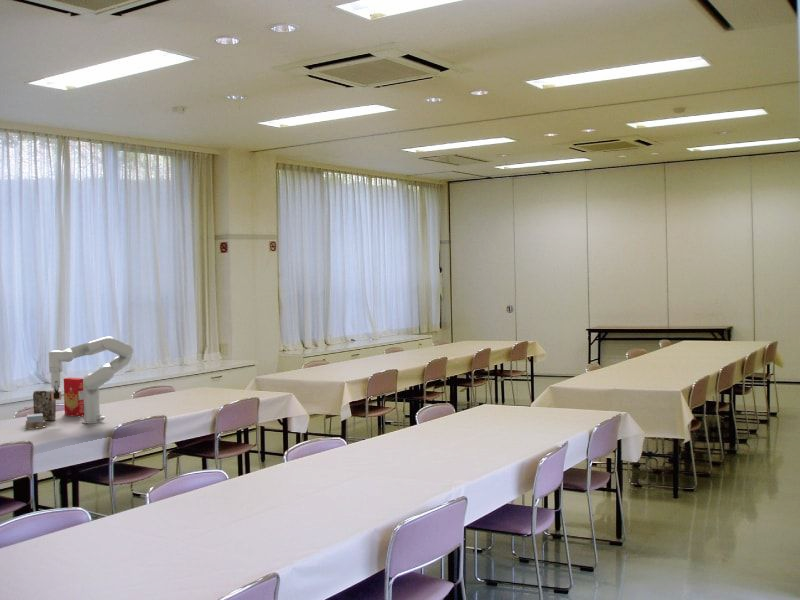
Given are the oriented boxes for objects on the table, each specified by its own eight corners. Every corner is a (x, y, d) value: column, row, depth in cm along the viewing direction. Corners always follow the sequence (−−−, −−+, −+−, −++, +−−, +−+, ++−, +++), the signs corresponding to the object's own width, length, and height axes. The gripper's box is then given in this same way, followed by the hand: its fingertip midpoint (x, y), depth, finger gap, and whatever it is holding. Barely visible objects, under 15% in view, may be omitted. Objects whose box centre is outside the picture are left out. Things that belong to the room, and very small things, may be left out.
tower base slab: (44, 425, 521) (44, 418, 521) (45, 428, 512) (45, 421, 511) (26, 426, 517) (25, 420, 516) (26, 429, 507) (26, 423, 507)
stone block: (57, 419, 539) (56, 389, 538) (53, 421, 532) (52, 391, 531) (36, 419, 538) (36, 389, 538) (32, 421, 531) (31, 391, 531)
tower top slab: (42, 419, 519) (42, 413, 519) (43, 421, 511) (42, 415, 511) (27, 420, 515) (26, 414, 515) (27, 423, 507) (27, 416, 507)
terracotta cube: (60, 398, 522) (60, 390, 522) (61, 399, 517) (61, 391, 517) (51, 399, 520) (51, 390, 520) (52, 400, 515) (51, 391, 515)
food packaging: (64, 414, 555) (63, 378, 554) (71, 413, 560) (70, 377, 559) (78, 416, 548) (77, 379, 547) (85, 415, 552) (84, 378, 551)
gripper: (48, 368, 524) (49, 396, 525) (49, 371, 509) (50, 400, 509) (61, 368, 527) (61, 395, 528) (62, 370, 512) (63, 399, 513)
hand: (56, 397), depth 519 cm, fingers closed on terracotta cube, 5 cm apart
